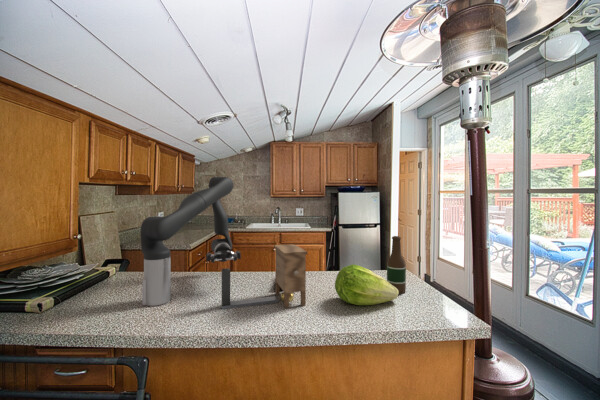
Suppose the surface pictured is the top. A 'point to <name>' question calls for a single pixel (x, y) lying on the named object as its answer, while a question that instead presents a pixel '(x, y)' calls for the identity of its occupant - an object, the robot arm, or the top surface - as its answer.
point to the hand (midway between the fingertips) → (224, 259)
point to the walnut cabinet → (290, 271)
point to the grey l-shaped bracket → (239, 303)
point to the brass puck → (289, 297)
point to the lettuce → (363, 286)
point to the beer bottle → (396, 267)
